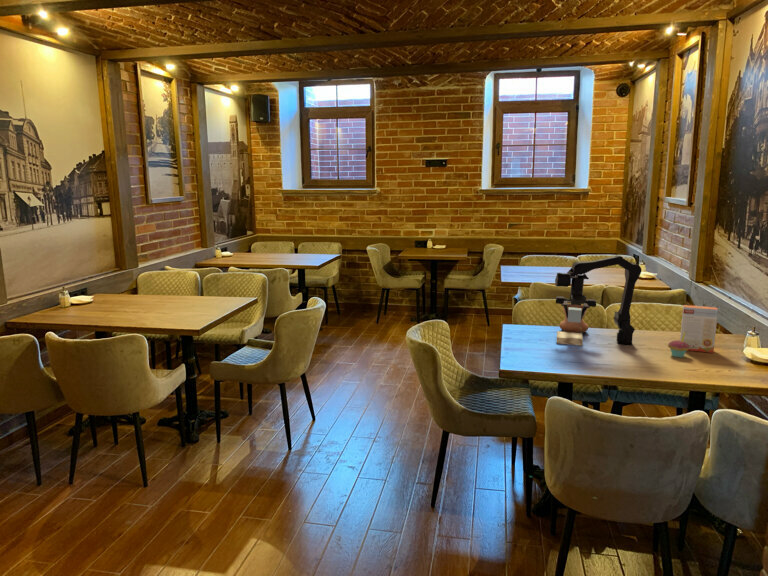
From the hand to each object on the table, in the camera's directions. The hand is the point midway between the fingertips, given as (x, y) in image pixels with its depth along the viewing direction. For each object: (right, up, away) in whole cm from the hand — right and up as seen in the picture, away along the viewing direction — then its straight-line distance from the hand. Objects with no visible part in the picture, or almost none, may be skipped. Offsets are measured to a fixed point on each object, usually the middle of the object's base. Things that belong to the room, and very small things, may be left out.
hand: (574, 318), depth 275 cm
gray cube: (0, -1, 0) cm, 1 cm away
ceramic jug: (+6, -8, +21) cm, 23 cm away
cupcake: (+40, -16, -21) cm, 48 cm away
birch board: (-2, -11, +2) cm, 12 cm away
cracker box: (+54, -14, -12) cm, 57 cm away
